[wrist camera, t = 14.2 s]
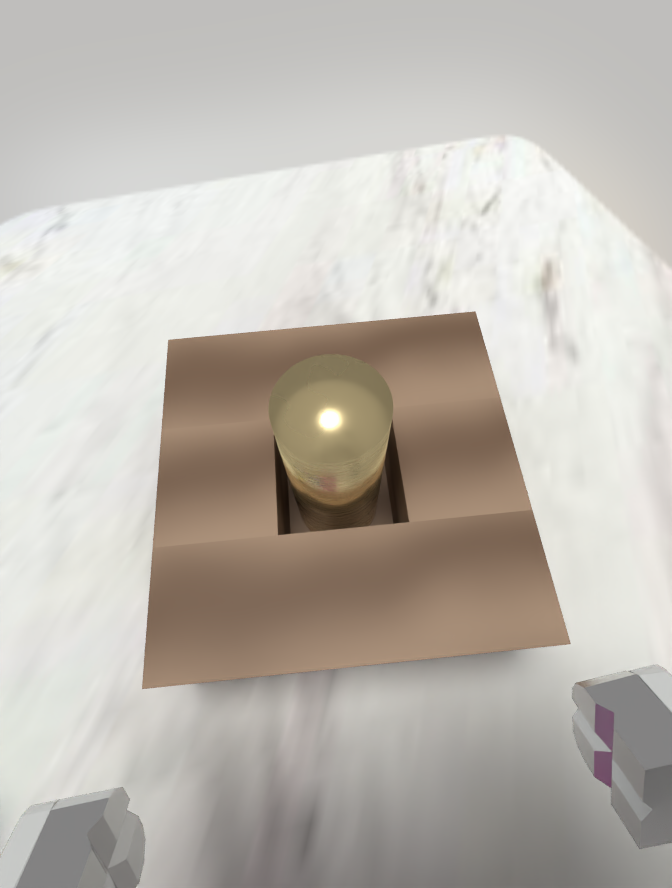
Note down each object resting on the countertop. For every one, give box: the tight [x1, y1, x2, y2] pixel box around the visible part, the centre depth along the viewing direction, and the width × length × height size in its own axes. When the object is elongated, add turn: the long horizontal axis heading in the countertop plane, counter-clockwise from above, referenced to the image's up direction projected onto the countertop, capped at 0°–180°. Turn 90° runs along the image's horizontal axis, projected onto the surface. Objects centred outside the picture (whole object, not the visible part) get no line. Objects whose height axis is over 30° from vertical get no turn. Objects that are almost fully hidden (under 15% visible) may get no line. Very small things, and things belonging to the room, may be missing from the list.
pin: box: [268, 354, 393, 532], centre depth 19 cm, size 4×4×10 cm
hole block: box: [142, 312, 571, 689], centre depth 22 cm, size 15×15×6 cm
